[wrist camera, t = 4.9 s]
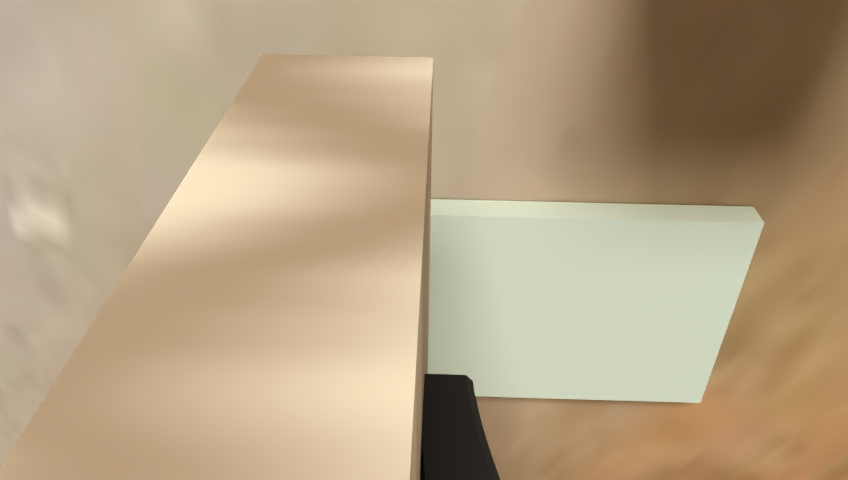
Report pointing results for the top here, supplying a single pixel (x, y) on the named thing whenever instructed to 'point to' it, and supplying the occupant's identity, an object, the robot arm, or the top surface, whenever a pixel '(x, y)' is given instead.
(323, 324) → the tan wooden block
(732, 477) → the top surface
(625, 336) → the rest board
